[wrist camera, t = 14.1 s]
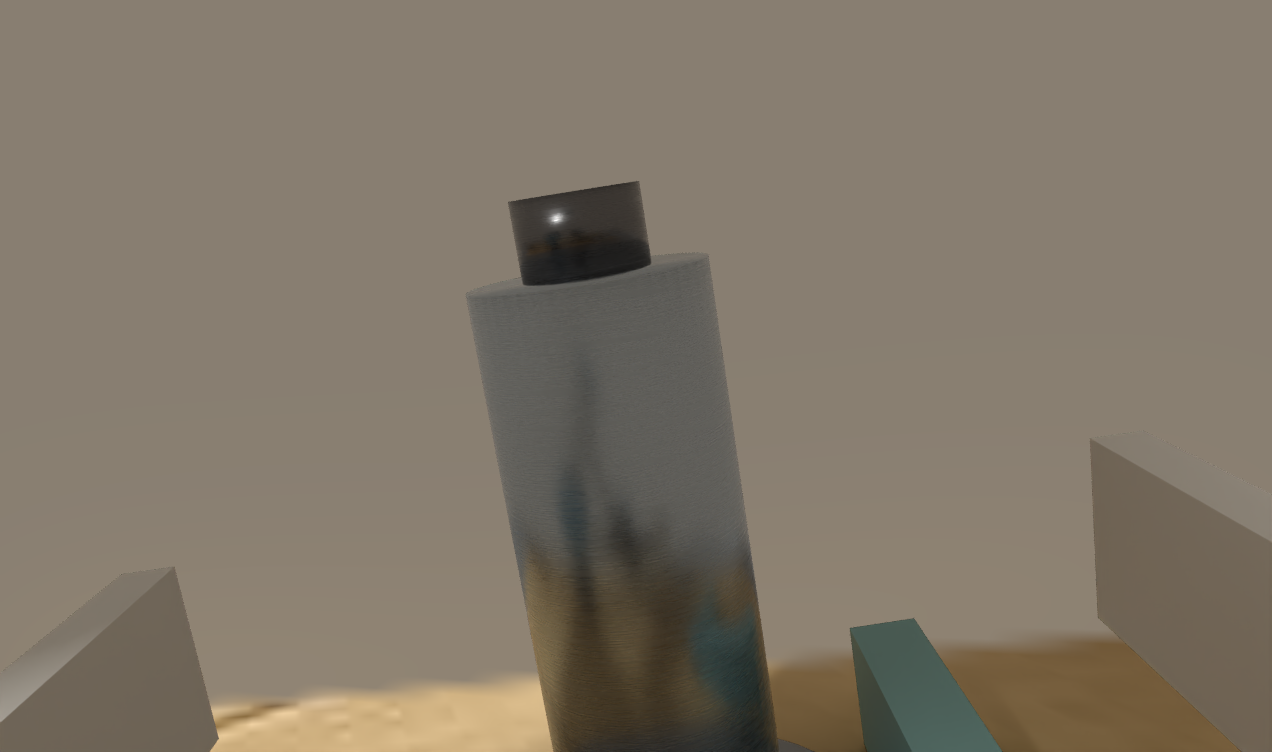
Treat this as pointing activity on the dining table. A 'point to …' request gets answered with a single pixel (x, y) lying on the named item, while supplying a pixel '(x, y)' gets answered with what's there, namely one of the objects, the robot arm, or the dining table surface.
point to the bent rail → (911, 694)
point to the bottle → (623, 483)
